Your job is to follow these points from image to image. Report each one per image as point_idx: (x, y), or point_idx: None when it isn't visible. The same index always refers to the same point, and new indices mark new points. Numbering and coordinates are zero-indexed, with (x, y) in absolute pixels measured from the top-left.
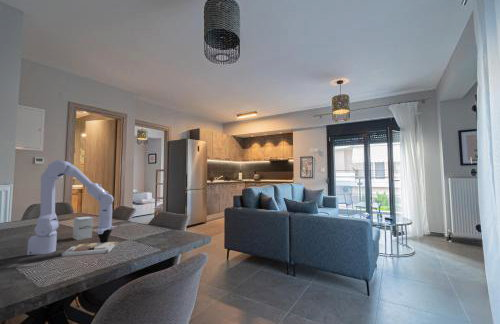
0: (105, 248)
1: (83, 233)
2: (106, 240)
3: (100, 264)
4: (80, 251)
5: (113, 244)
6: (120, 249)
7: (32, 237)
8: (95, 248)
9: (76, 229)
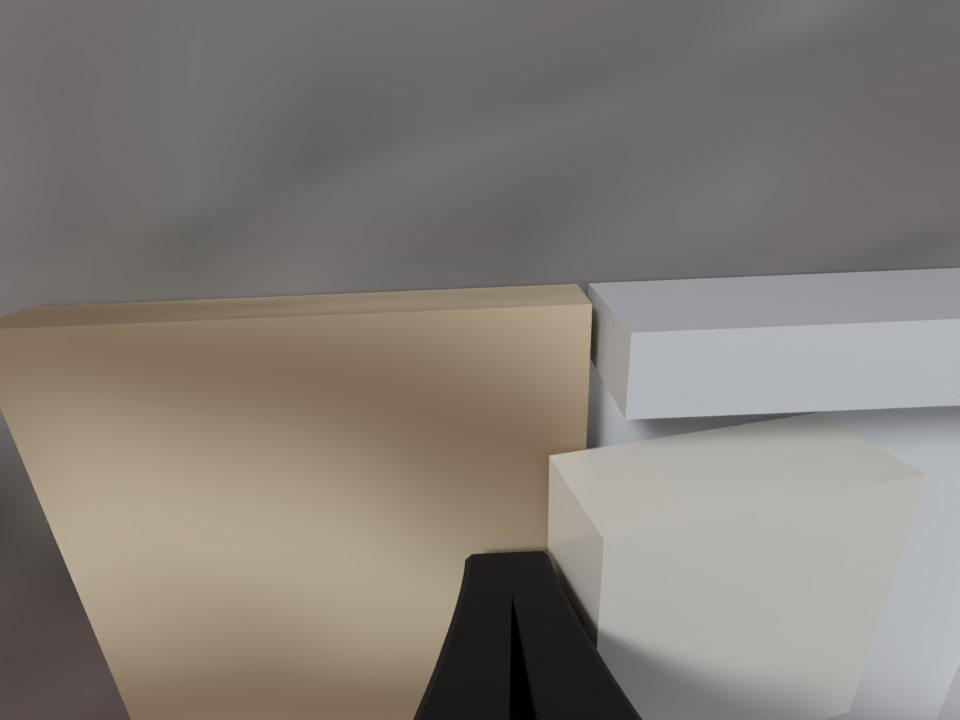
0: (888, 464)
1: None
2: (615, 682)
3: None
4: None
5: (723, 334)
6: (711, 53)
7: None
8: (844, 676)
9: None
